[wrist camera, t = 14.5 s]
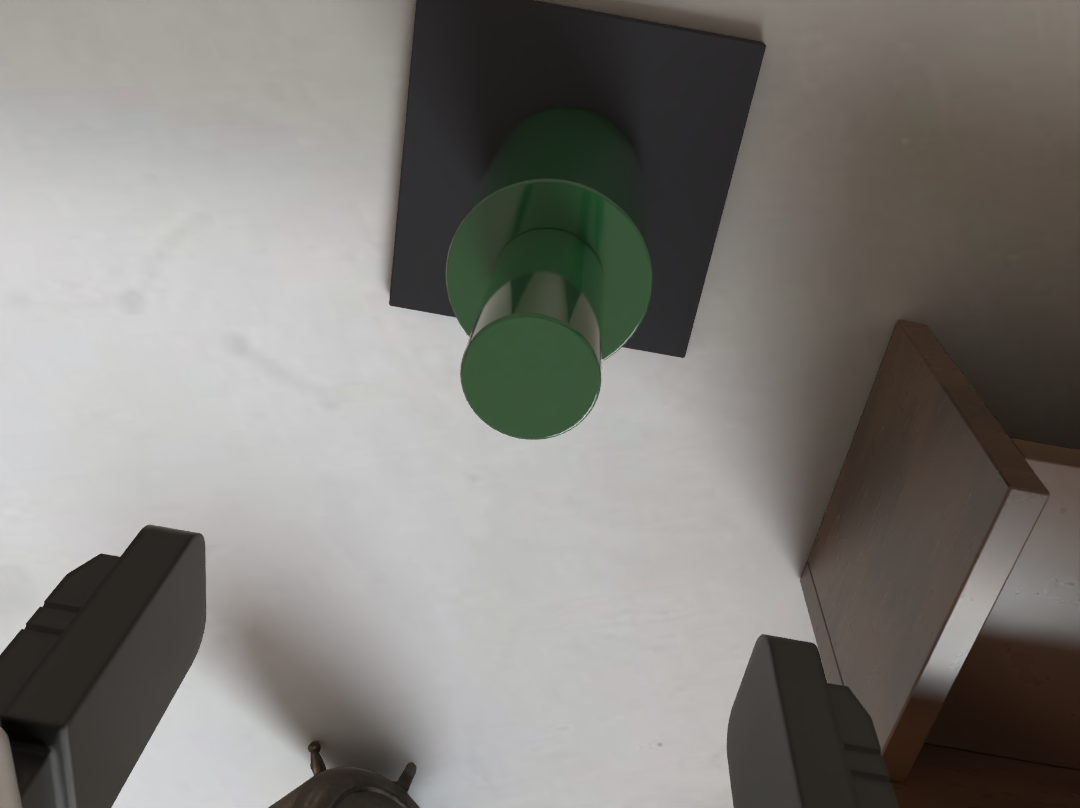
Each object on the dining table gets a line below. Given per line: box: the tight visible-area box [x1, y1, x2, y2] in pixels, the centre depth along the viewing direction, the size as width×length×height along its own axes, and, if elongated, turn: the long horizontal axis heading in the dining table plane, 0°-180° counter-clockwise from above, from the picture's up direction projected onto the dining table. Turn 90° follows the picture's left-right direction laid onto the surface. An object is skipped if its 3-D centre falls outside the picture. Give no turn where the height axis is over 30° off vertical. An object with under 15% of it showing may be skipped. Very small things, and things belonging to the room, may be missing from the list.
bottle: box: [446, 107, 652, 440], centre depth 28 cm, size 6×6×16 cm
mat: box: [389, 0, 766, 358], centre depth 35 cm, size 12×12×1 cm
